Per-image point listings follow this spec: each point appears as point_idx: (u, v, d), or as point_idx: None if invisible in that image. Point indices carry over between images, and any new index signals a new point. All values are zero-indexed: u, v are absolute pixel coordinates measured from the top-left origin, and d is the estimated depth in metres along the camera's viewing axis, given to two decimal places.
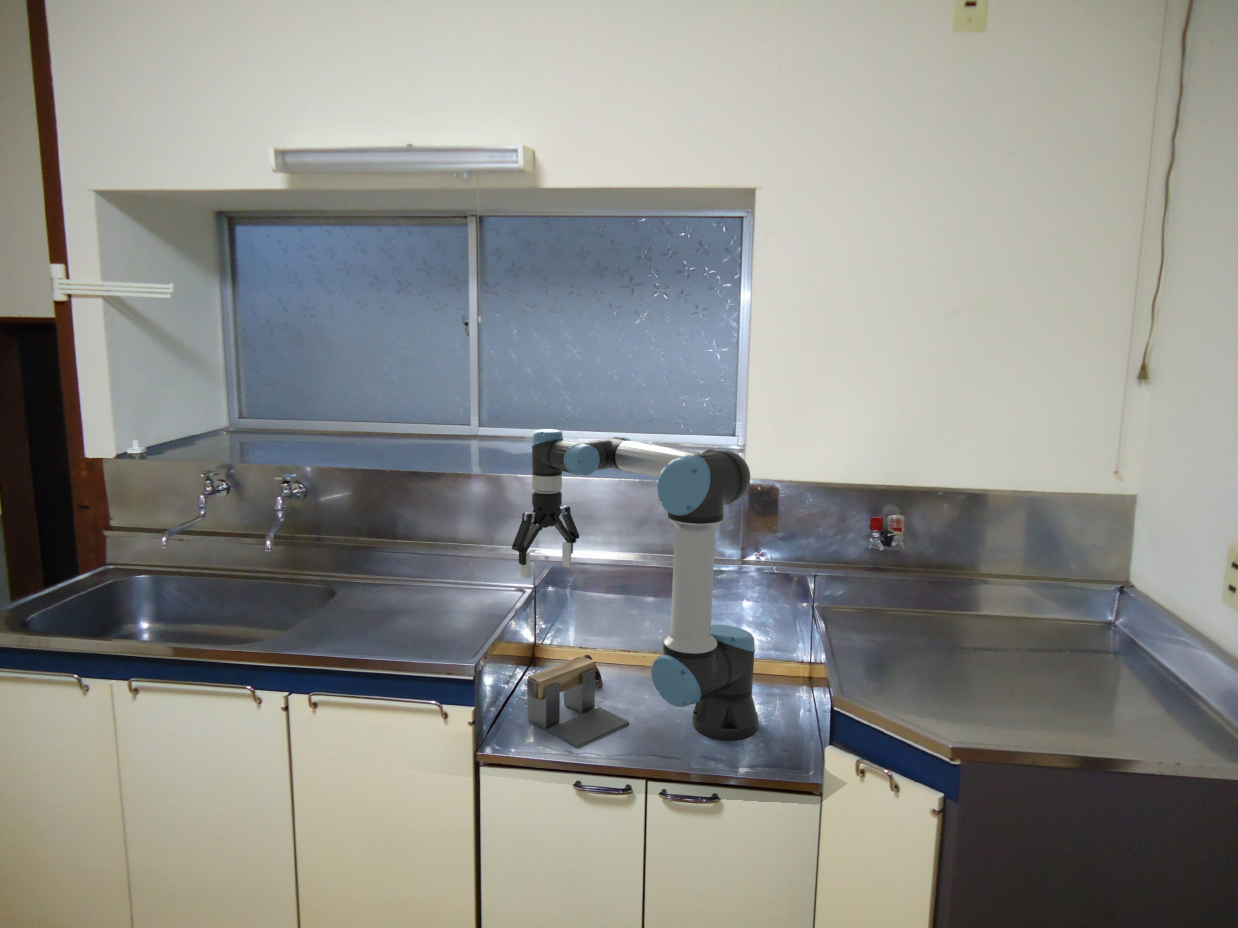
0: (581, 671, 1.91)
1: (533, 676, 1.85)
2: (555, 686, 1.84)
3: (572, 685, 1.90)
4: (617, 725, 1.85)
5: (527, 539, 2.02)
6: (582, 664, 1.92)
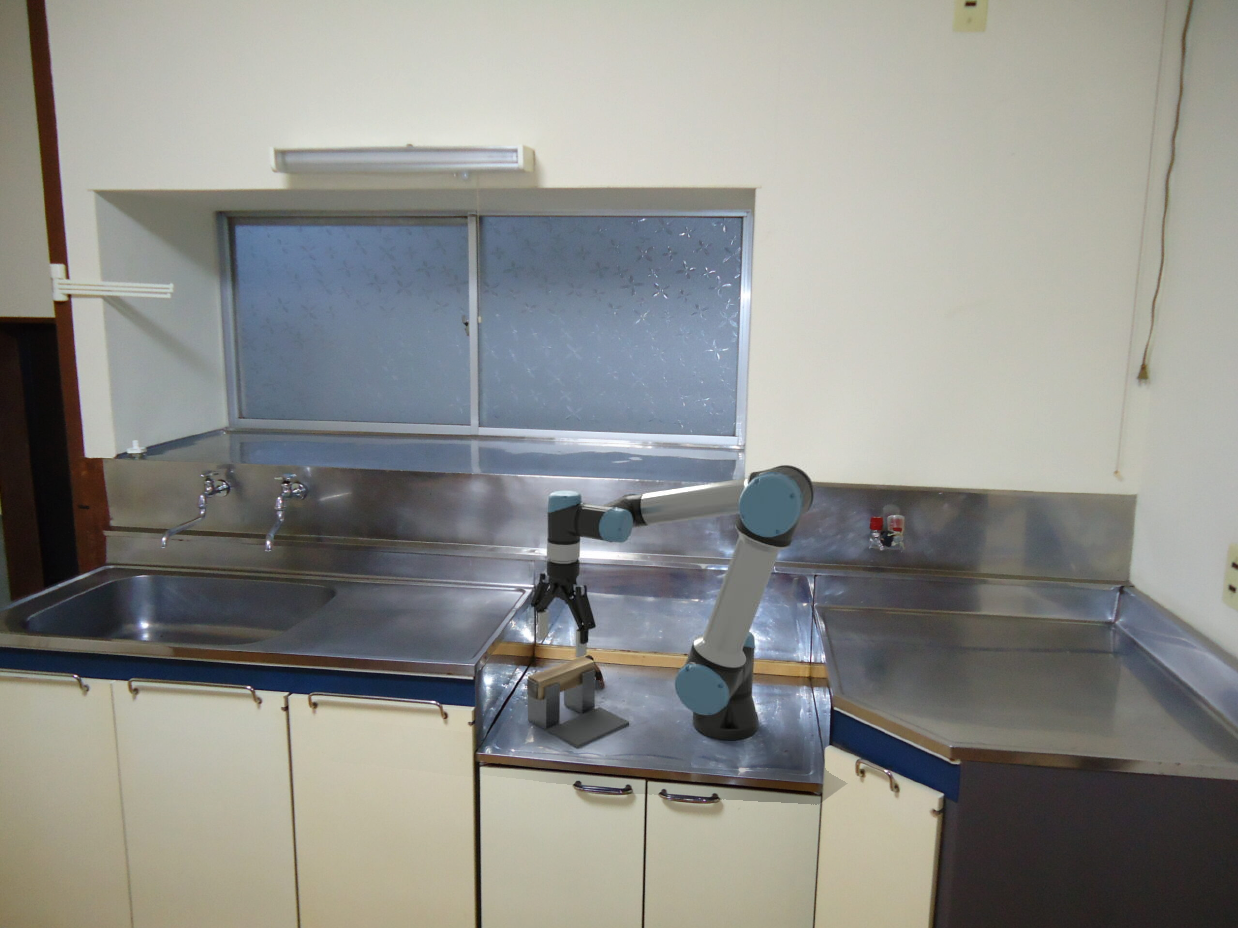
0: (581, 671, 1.91)
1: (533, 676, 1.85)
2: (555, 686, 1.84)
3: (572, 685, 1.90)
4: (617, 725, 1.85)
5: None
6: (582, 664, 1.92)
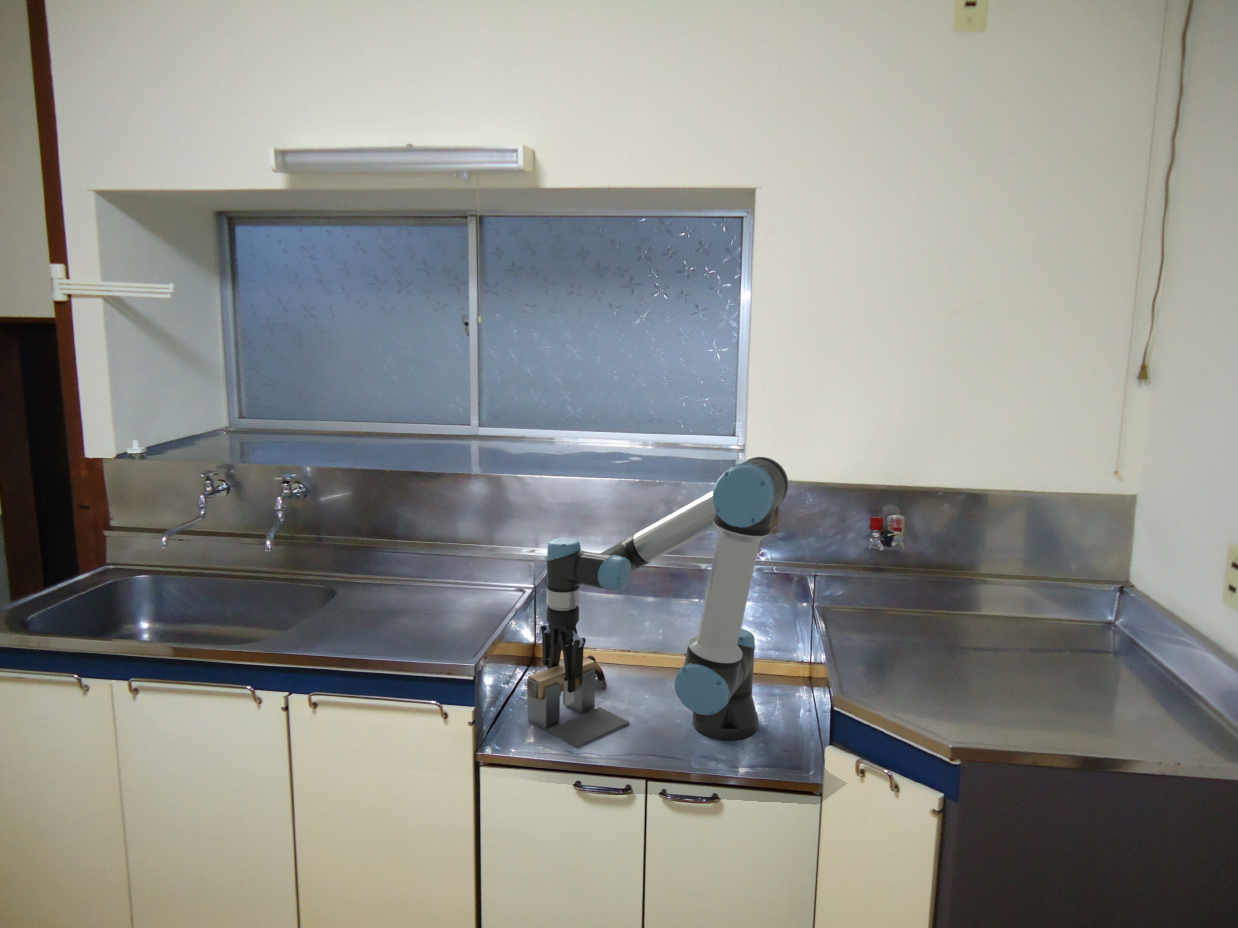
0: None
1: (533, 677, 1.85)
2: (555, 686, 1.84)
3: None
4: (617, 725, 1.85)
5: None
6: None
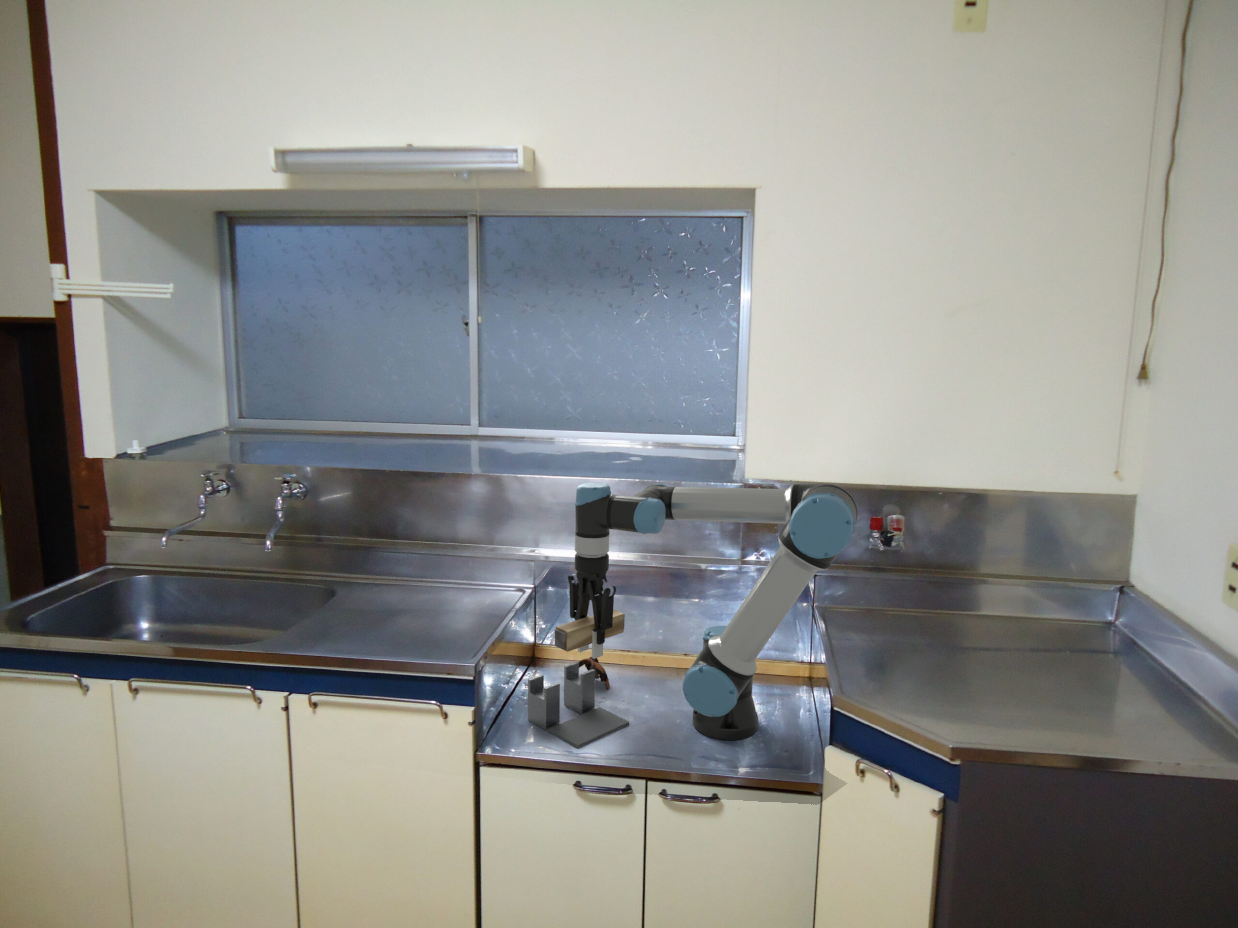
0: None
1: (561, 627, 1.76)
2: (555, 686, 1.84)
3: None
4: (617, 725, 1.85)
5: None
6: None
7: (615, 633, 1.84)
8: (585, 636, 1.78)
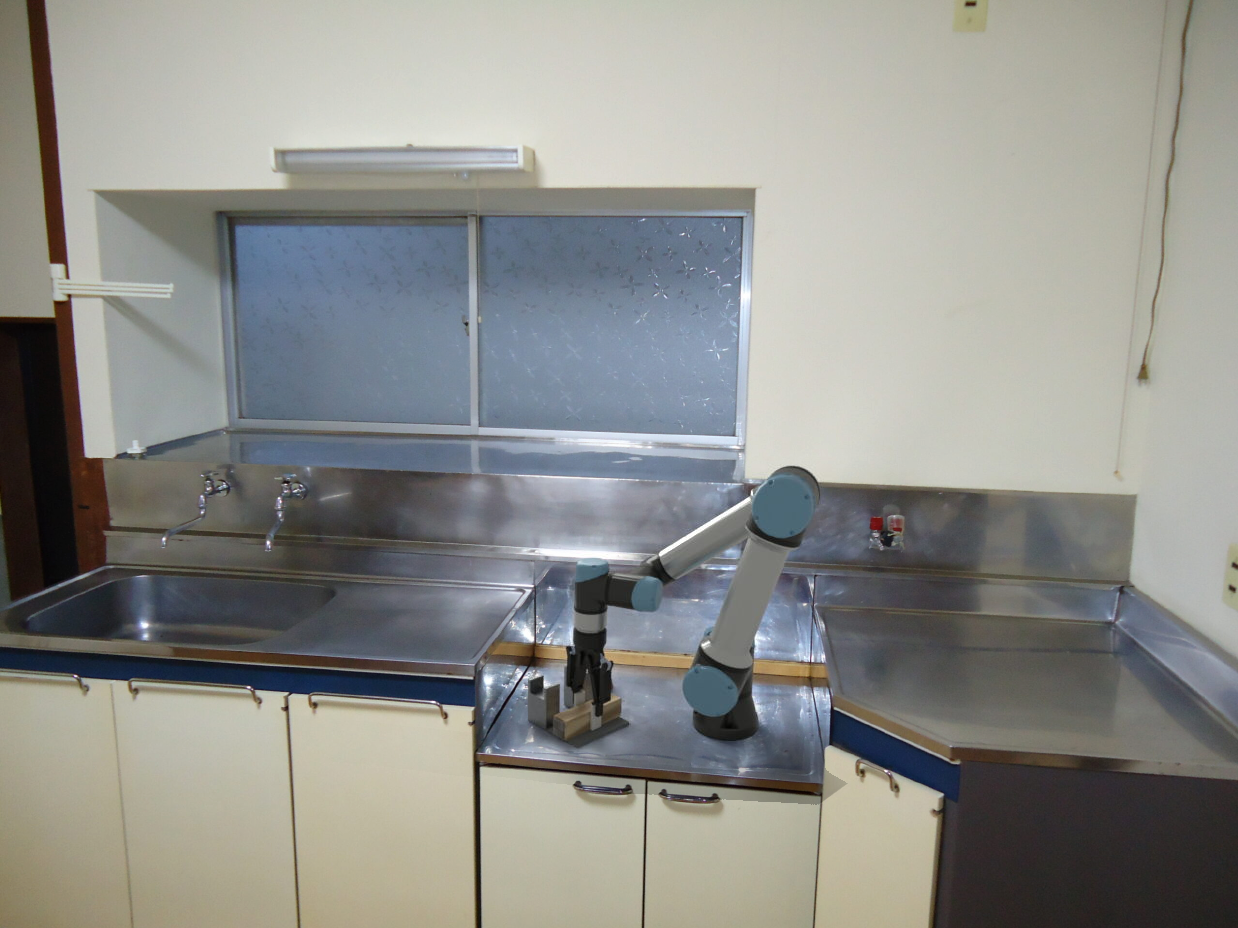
0: (607, 709, 1.86)
1: (559, 716, 1.80)
2: (555, 686, 1.84)
3: None
4: (617, 725, 1.85)
5: None
6: None
7: (612, 718, 1.88)
8: (583, 724, 1.82)
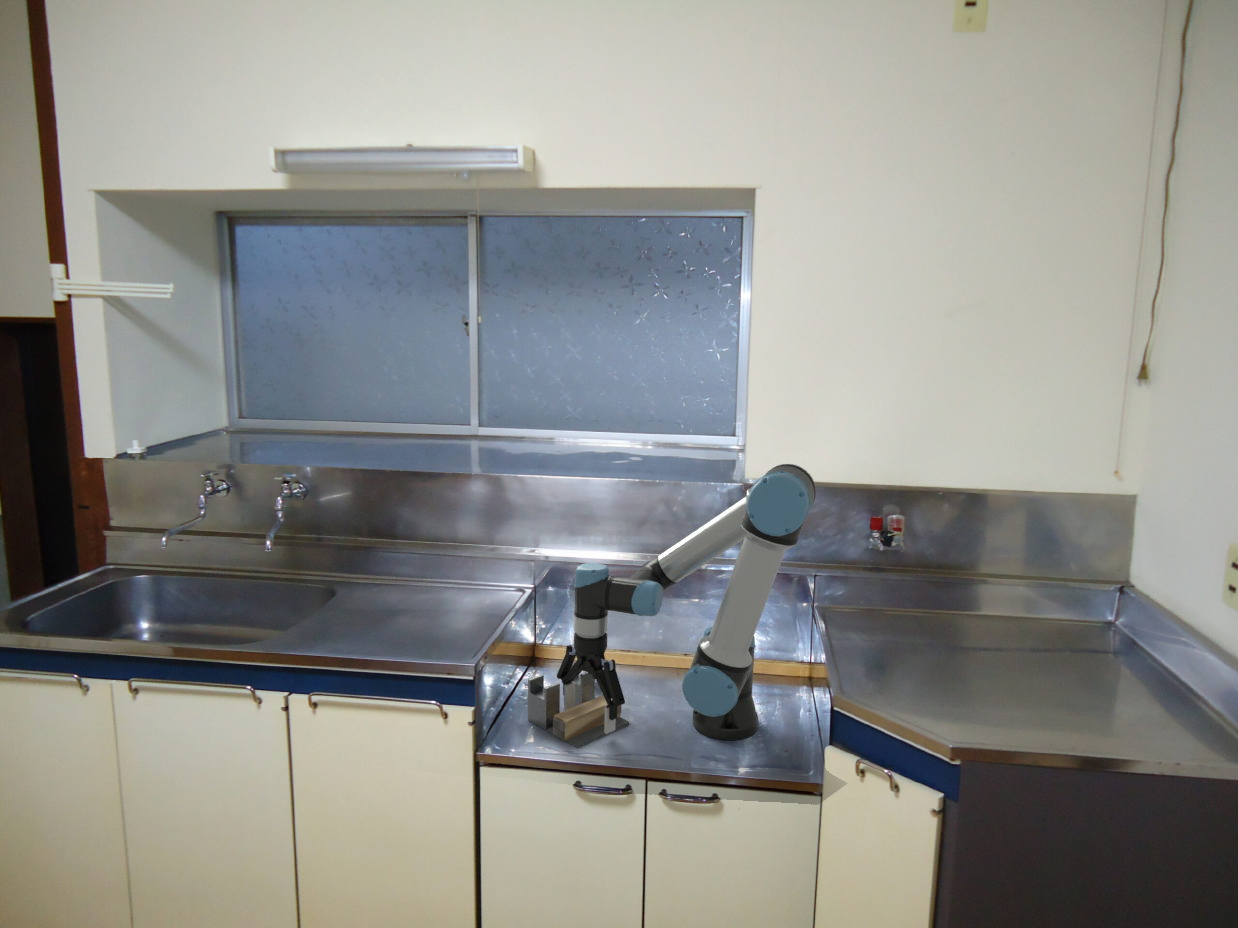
0: None
1: (559, 716, 1.80)
2: (555, 686, 1.84)
3: (598, 723, 1.85)
4: (617, 725, 1.85)
5: None
6: None
7: None
8: (583, 724, 1.82)
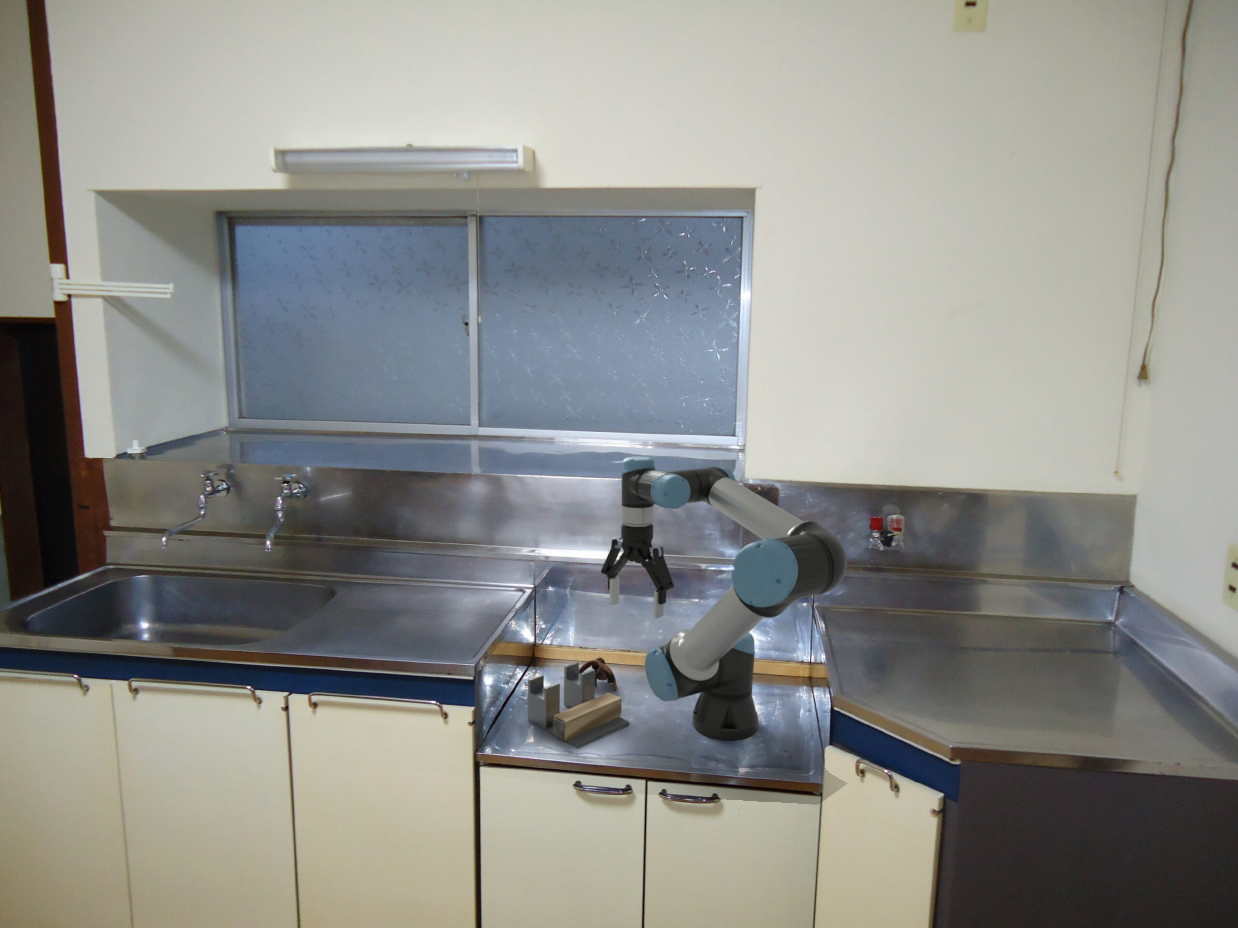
0: (607, 709, 1.86)
1: (559, 716, 1.80)
2: (555, 686, 1.84)
3: (598, 723, 1.85)
4: (617, 725, 1.85)
5: None
6: (608, 701, 1.87)
7: (612, 718, 1.88)
8: (583, 724, 1.82)
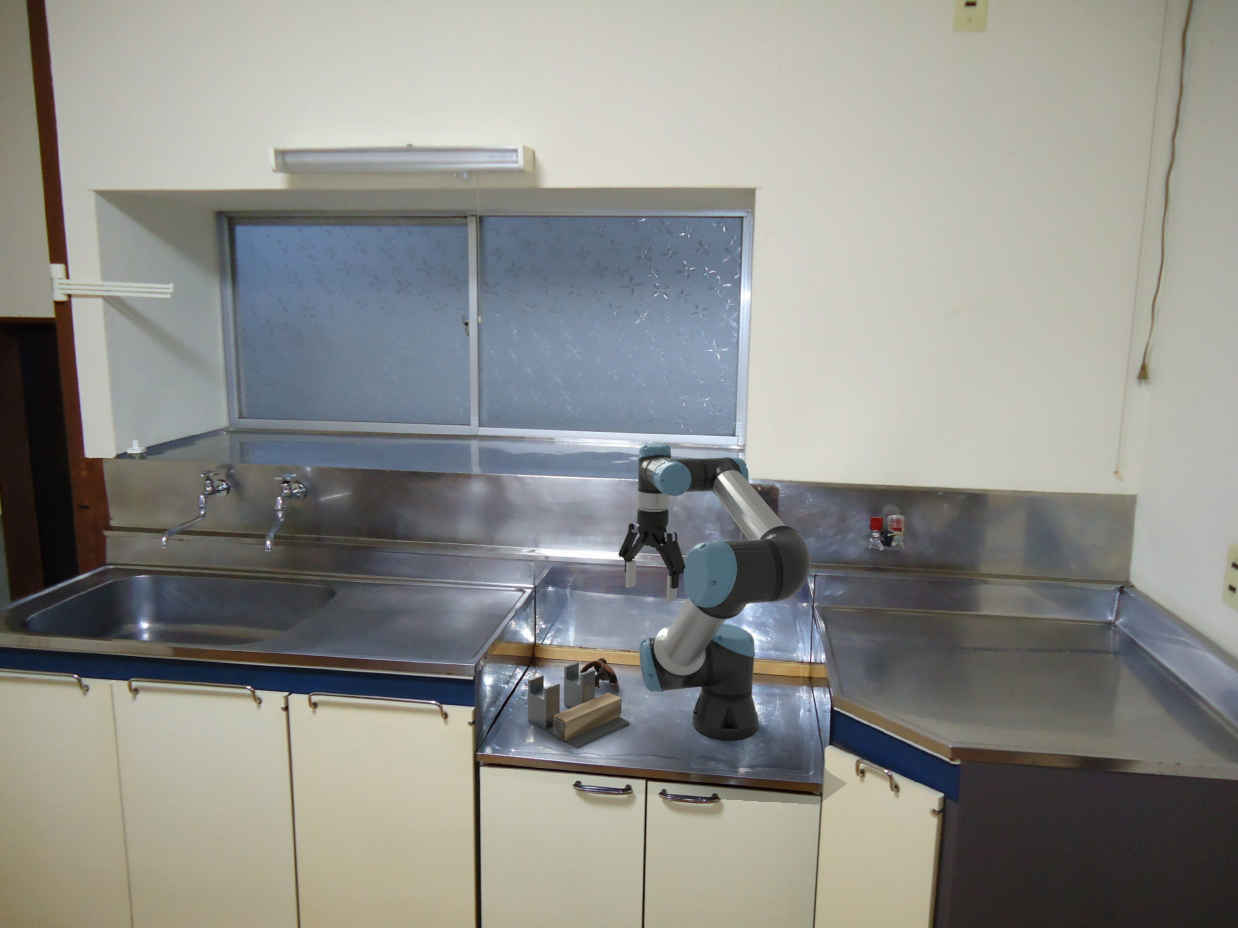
0: (607, 709, 1.86)
1: (559, 716, 1.80)
2: (555, 686, 1.84)
3: (598, 723, 1.85)
4: (617, 725, 1.85)
5: None
6: (608, 701, 1.87)
7: (612, 718, 1.88)
8: (583, 724, 1.82)
